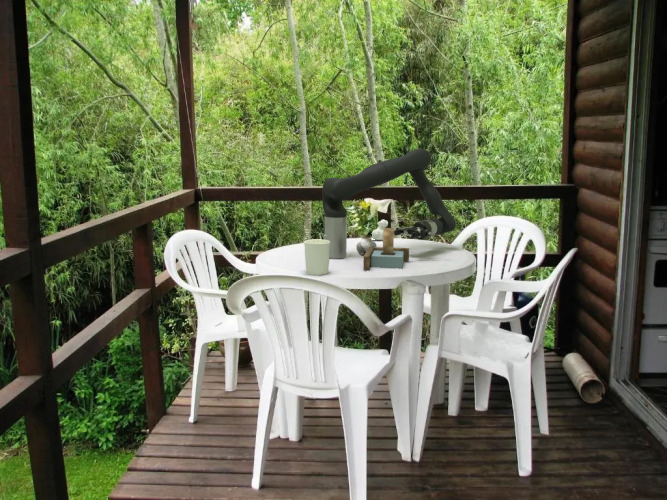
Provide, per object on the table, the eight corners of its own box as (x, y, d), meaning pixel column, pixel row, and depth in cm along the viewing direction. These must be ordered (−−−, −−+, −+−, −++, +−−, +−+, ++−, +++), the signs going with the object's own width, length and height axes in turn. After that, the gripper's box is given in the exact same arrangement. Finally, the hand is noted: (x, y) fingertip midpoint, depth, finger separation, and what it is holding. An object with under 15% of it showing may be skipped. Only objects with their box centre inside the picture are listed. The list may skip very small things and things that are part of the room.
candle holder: (302, 270, 251) (301, 239, 249) (327, 269, 253) (327, 238, 251) (306, 276, 242) (306, 244, 239) (332, 275, 244) (333, 243, 242)
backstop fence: (363, 270, 252) (363, 256, 251) (369, 259, 271) (369, 246, 270) (406, 272, 249) (406, 257, 248) (408, 261, 269) (409, 248, 268)
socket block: (371, 268, 257) (371, 256, 256) (373, 262, 269) (374, 250, 268) (402, 269, 255) (402, 257, 254) (403, 263, 267) (403, 251, 266)
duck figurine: (373, 246, 314) (385, 229, 308) (363, 235, 317) (375, 218, 311) (387, 243, 323) (399, 226, 317) (377, 232, 326) (389, 215, 320)
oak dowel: (382, 264, 260) (382, 229, 258) (382, 262, 264) (383, 227, 262) (392, 264, 260) (393, 229, 257) (393, 262, 264) (394, 228, 261)
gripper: (410, 219, 284) (389, 223, 272) (439, 222, 275) (418, 226, 263) (410, 236, 286) (389, 241, 273) (438, 239, 277) (418, 245, 265)
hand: (403, 234), depth 268 cm, fingers open, 8 cm apart
